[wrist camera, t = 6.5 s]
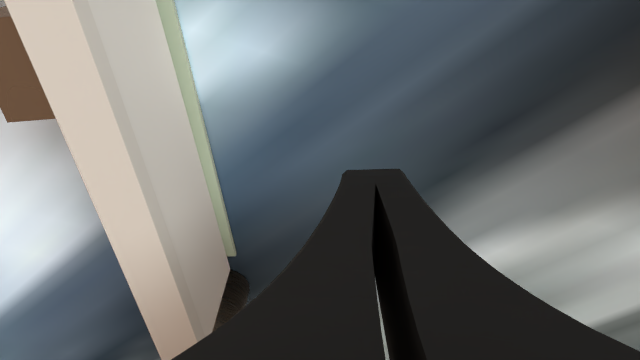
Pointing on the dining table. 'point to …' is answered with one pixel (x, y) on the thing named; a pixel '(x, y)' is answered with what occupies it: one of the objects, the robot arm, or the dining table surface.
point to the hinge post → (232, 298)
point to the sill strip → (195, 116)
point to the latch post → (19, 77)
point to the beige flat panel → (133, 154)
